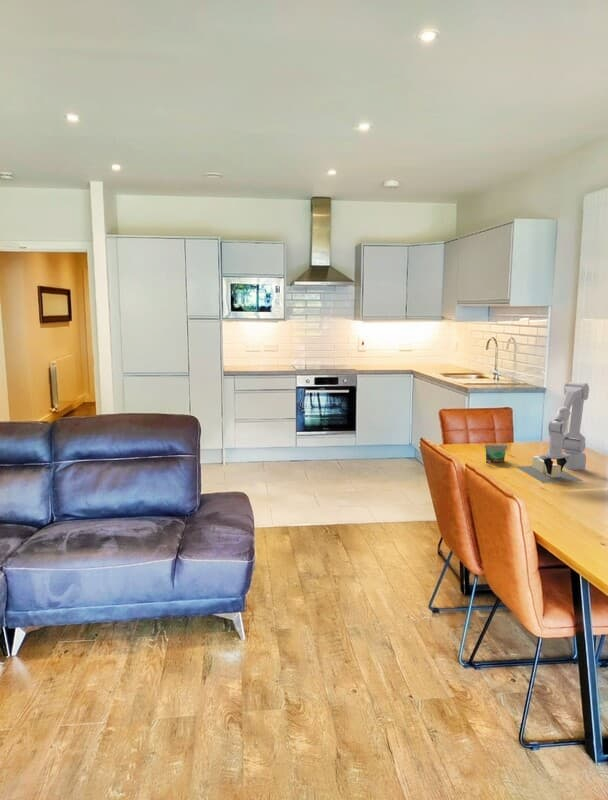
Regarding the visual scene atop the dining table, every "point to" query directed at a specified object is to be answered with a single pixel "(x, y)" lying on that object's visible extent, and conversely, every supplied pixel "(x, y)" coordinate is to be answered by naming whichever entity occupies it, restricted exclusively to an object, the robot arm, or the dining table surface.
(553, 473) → the block
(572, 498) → the dining table surface
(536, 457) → the cream box
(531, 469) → the mat
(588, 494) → the dining table surface
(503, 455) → the food container
